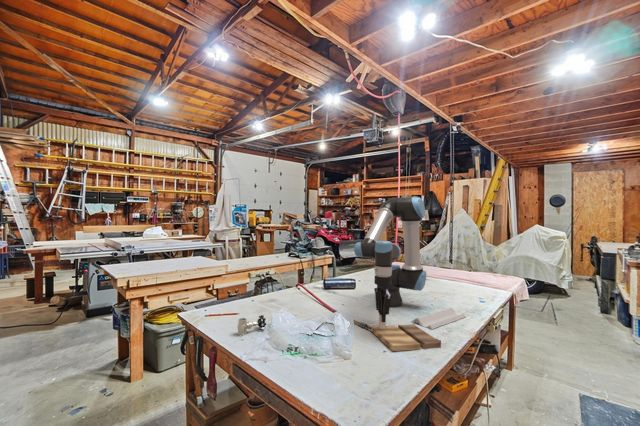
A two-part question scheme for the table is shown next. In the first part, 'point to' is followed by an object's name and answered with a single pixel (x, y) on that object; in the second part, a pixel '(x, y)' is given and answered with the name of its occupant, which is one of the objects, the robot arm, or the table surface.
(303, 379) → the table surface
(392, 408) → the table surface
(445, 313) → the crown molding
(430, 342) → the walnut floor board
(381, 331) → the oak plank
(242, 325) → the valve
